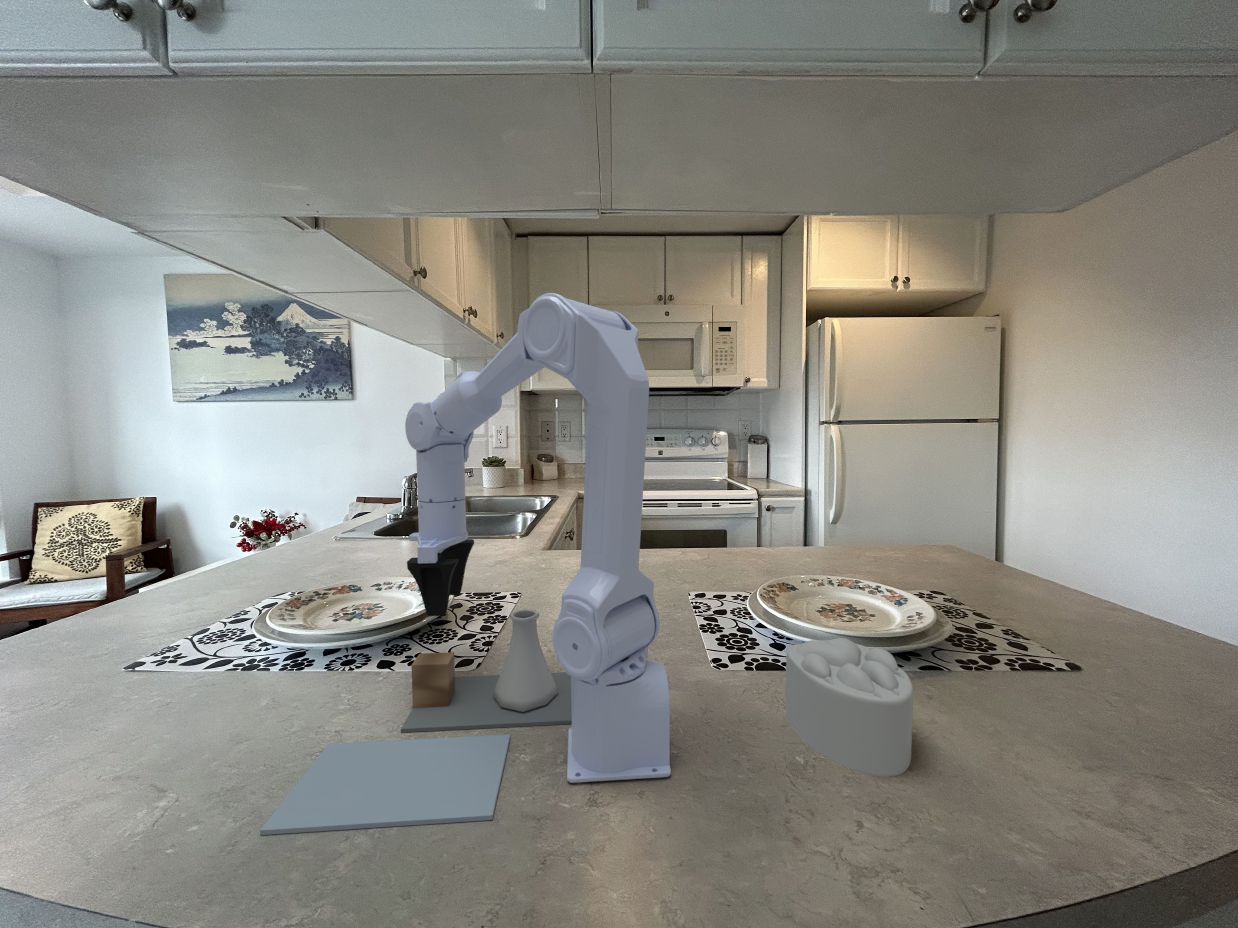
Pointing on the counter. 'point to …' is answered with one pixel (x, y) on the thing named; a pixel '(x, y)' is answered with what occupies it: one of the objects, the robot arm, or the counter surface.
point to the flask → (524, 667)
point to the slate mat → (395, 785)
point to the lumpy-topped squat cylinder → (851, 704)
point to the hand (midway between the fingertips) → (445, 604)
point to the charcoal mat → (473, 700)
